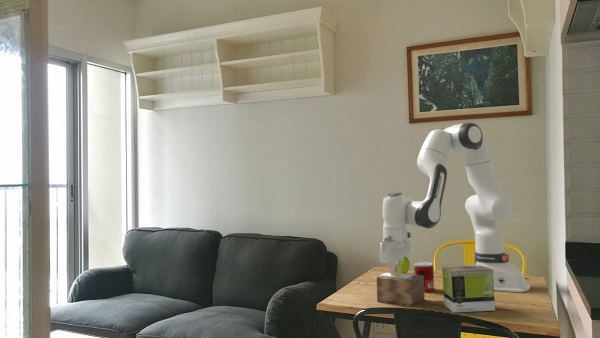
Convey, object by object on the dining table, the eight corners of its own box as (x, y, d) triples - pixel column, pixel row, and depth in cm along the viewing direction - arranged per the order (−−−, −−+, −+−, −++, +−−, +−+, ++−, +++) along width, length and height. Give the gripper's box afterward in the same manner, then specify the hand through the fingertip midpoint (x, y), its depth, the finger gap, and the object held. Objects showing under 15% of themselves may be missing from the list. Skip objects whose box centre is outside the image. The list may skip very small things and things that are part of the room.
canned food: (434, 288, 206) (433, 262, 206) (433, 292, 198) (433, 265, 199) (415, 287, 208) (414, 261, 208) (414, 291, 200) (413, 265, 201)
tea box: (483, 304, 179) (482, 263, 179) (495, 311, 169) (494, 268, 169) (443, 305, 179) (441, 265, 179) (452, 313, 168) (451, 270, 169)
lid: (415, 281, 188) (414, 263, 188) (405, 285, 181) (405, 266, 181) (387, 278, 195) (386, 260, 195) (376, 282, 188) (376, 264, 188)
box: (424, 299, 188) (423, 275, 188) (411, 306, 178) (411, 281, 178) (391, 295, 196) (390, 272, 196) (377, 301, 186) (376, 277, 186)
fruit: (398, 272, 242) (397, 251, 242) (413, 274, 235) (412, 253, 235) (386, 274, 236) (385, 254, 236) (401, 277, 229) (400, 256, 229)
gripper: (390, 238, 178) (391, 276, 178) (412, 232, 195) (413, 267, 194) (374, 237, 182) (375, 275, 181) (398, 232, 198) (399, 266, 198)
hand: (395, 271), depth 188 cm, fingers closed on lid, 3 cm apart
